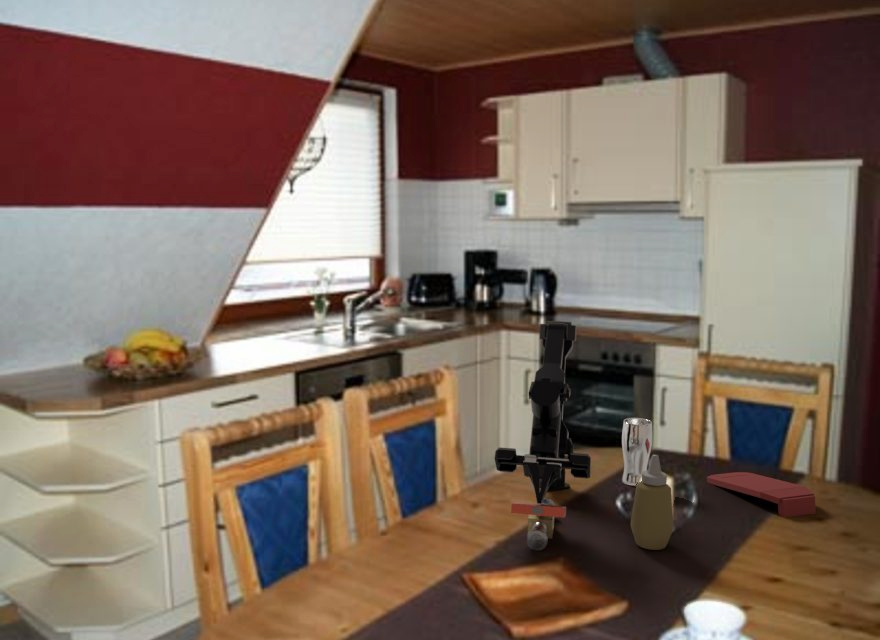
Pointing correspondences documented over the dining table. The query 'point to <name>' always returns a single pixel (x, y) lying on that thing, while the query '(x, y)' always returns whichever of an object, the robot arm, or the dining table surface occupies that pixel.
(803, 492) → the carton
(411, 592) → the dining table surface
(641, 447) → the beer glass
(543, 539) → the valve
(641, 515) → the squeeze bottle
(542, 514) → the valve lever
